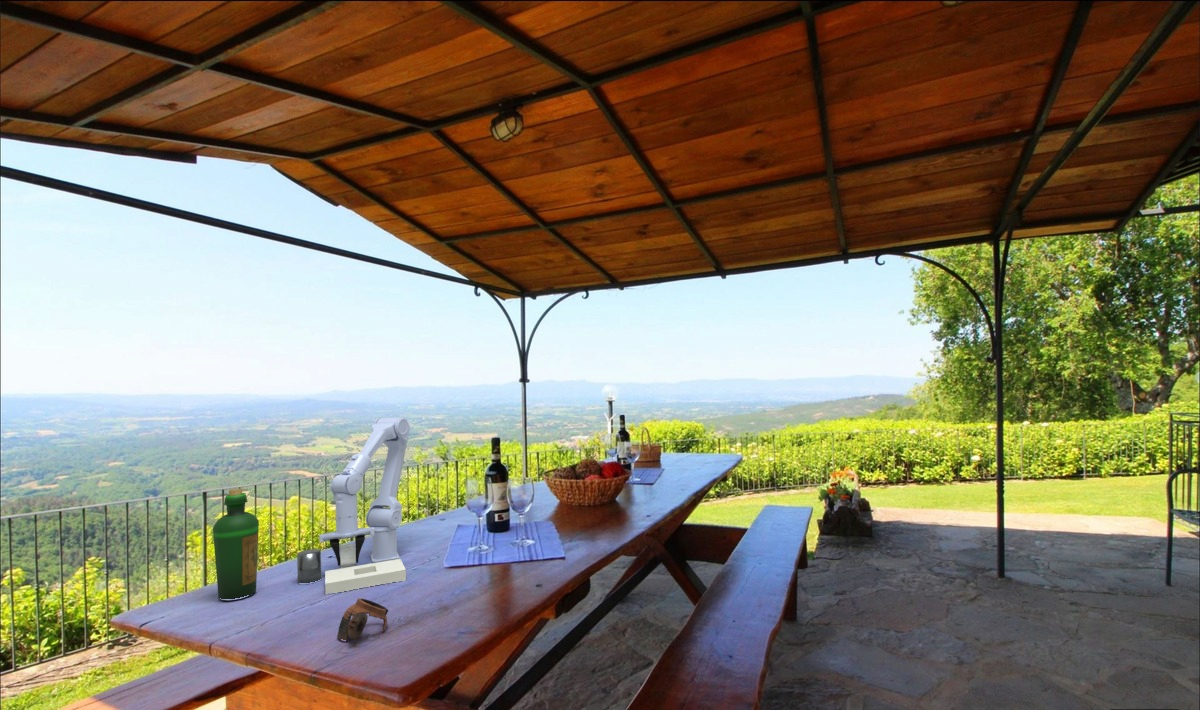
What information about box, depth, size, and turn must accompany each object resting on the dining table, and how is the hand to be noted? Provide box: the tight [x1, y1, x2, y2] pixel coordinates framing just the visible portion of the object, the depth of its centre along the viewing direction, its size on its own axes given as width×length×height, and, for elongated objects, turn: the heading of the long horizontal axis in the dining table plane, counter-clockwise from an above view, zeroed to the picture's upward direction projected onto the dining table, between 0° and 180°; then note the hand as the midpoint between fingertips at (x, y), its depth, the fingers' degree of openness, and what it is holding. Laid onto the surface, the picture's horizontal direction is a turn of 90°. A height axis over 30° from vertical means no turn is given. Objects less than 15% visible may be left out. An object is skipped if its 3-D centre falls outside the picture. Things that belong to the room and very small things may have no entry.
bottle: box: [212, 487, 260, 599], centre depth 154 cm, size 11×11×28 cm
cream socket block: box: [324, 558, 407, 595], centre depth 161 cm, size 12×20×3 cm, turn 115°
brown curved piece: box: [336, 598, 390, 641], centre depth 125 cm, size 12×10×8 cm
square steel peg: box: [339, 543, 357, 569], centre depth 168 cm, size 4×4×8 cm
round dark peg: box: [296, 548, 322, 584], centre depth 164 cm, size 6×6×8 cm
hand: (348, 563), depth 168 cm, fingers closed on square steel peg, 4 cm apart
